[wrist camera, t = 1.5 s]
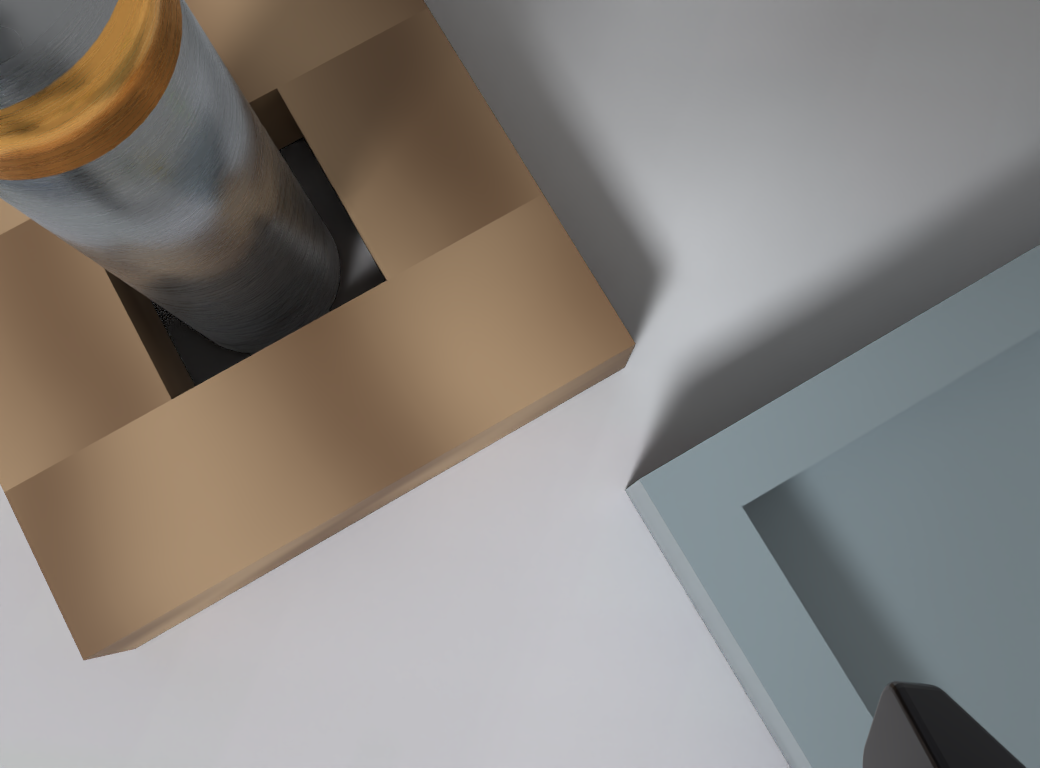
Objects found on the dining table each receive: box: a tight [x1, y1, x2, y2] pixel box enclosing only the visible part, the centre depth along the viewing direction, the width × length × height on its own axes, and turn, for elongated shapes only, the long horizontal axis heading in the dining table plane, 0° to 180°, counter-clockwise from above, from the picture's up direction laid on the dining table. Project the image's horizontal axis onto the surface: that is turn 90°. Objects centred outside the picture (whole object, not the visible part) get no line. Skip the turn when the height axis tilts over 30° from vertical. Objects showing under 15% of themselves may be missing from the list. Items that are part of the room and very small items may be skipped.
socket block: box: [0, 0, 635, 660], centre depth 22 cm, size 13×13×2 cm
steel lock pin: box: [0, 0, 340, 353], centre depth 17 cm, size 4×4×13 cm
